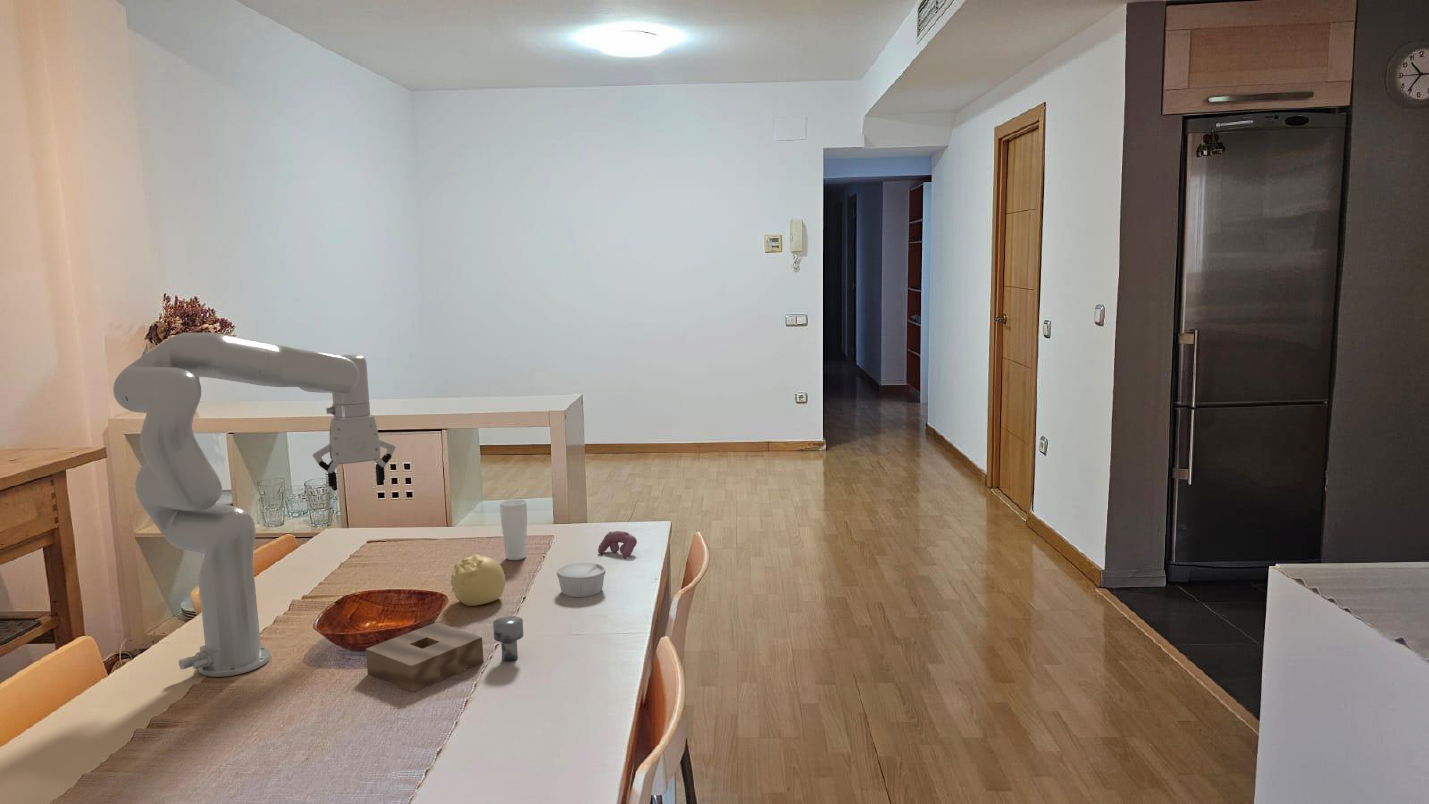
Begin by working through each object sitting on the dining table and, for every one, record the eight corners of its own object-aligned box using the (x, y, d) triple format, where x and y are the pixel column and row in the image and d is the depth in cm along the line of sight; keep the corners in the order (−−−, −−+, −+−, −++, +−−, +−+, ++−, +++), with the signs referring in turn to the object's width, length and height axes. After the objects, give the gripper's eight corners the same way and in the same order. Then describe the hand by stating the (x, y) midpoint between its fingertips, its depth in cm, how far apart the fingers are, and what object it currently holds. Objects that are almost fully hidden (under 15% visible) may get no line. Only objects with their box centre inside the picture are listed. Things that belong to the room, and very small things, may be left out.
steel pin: (508, 666, 180) (506, 629, 179) (489, 660, 184) (487, 623, 183) (530, 656, 185) (528, 620, 184) (511, 650, 188) (509, 614, 187)
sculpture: (449, 597, 220) (447, 552, 219) (502, 589, 224) (499, 545, 223) (454, 613, 210) (451, 566, 208) (509, 605, 214) (507, 559, 212)
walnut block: (413, 692, 170) (411, 666, 170) (367, 674, 179) (365, 648, 178) (483, 662, 183) (482, 637, 182) (438, 646, 191) (436, 622, 191)
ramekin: (611, 595, 219) (610, 573, 218) (563, 602, 215) (562, 580, 214) (599, 580, 230) (598, 559, 229) (553, 587, 226) (552, 566, 225)
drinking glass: (501, 555, 251) (498, 500, 249) (527, 553, 253) (524, 498, 251) (504, 563, 245) (501, 506, 243) (530, 560, 247) (527, 504, 245)
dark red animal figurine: (634, 561, 249) (641, 535, 251) (625, 557, 246) (631, 531, 247) (605, 556, 254) (611, 530, 256) (595, 552, 251) (601, 526, 253)
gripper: (312, 416, 202) (318, 495, 204) (395, 409, 211) (400, 484, 213) (307, 412, 208) (313, 488, 211) (388, 405, 217) (393, 478, 220)
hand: (357, 486), depth 212 cm, fingers open, 9 cm apart
